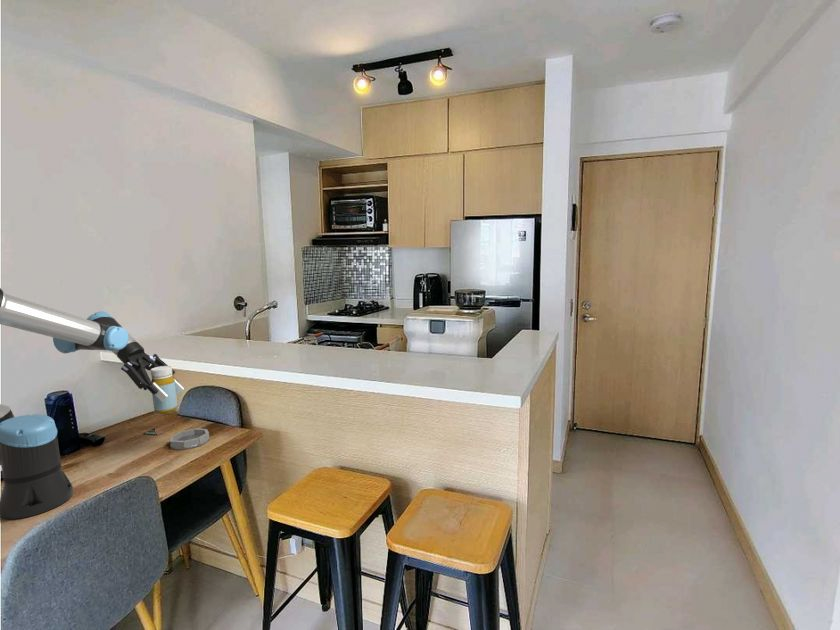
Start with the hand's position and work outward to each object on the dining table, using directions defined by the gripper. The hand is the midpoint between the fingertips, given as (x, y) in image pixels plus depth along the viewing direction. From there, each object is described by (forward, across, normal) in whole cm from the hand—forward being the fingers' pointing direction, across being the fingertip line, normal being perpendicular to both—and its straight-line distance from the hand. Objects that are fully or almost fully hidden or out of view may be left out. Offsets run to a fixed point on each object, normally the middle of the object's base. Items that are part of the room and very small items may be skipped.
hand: (173, 395), depth 149 cm
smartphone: (0, -17, -29) cm, 34 cm away
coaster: (+14, -5, -14) cm, 20 cm away
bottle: (+2, 0, -6) cm, 7 cm away
